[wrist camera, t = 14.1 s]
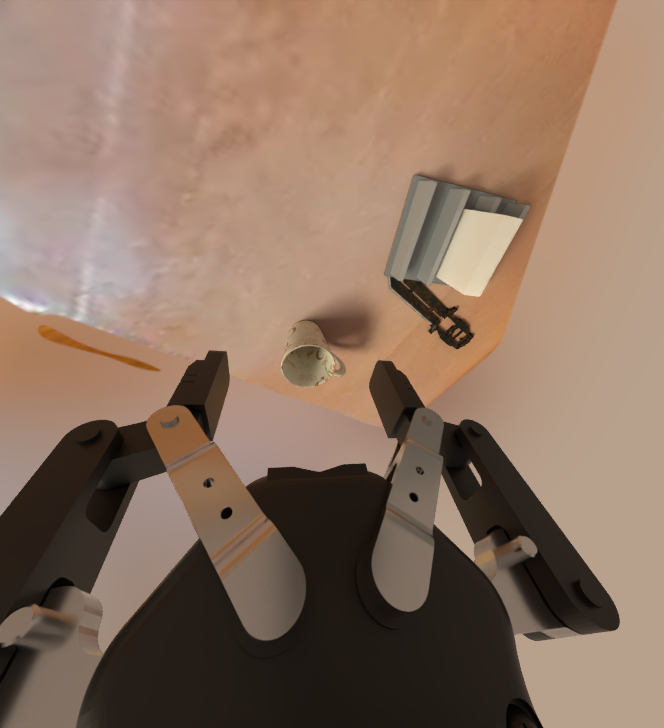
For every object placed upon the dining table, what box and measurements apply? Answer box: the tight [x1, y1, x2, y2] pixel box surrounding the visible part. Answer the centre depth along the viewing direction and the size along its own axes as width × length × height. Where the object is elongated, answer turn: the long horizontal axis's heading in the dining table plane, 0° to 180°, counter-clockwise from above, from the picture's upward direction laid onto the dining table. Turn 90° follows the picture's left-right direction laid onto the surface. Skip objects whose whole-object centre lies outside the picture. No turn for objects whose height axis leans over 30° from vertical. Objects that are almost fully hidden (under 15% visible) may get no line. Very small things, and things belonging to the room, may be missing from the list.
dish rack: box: [384, 175, 531, 288], centre depth 35 cm, size 16×13×4 cm
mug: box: [281, 321, 346, 387], centre depth 41 cm, size 8×13×10 cm, turn 57°
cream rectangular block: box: [435, 209, 523, 297], centre depth 32 cm, size 2×9×10 cm, turn 170°
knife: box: [388, 277, 473, 349], centre depth 44 cm, size 25×6×1 cm, turn 46°
